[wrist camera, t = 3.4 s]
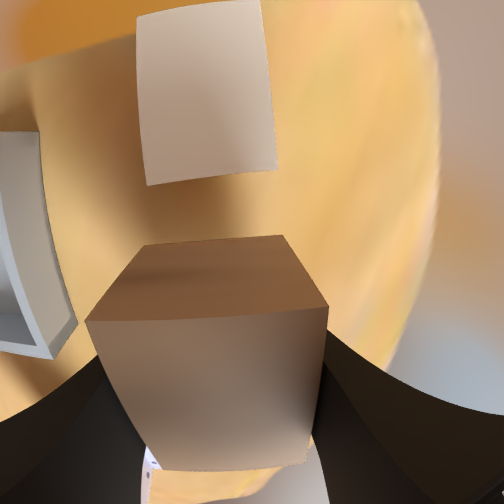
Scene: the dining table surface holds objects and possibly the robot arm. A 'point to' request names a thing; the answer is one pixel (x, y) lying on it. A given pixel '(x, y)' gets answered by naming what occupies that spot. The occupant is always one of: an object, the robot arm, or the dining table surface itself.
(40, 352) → the tote
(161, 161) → the cream box
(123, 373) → the walnut block
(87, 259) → the dining table surface
